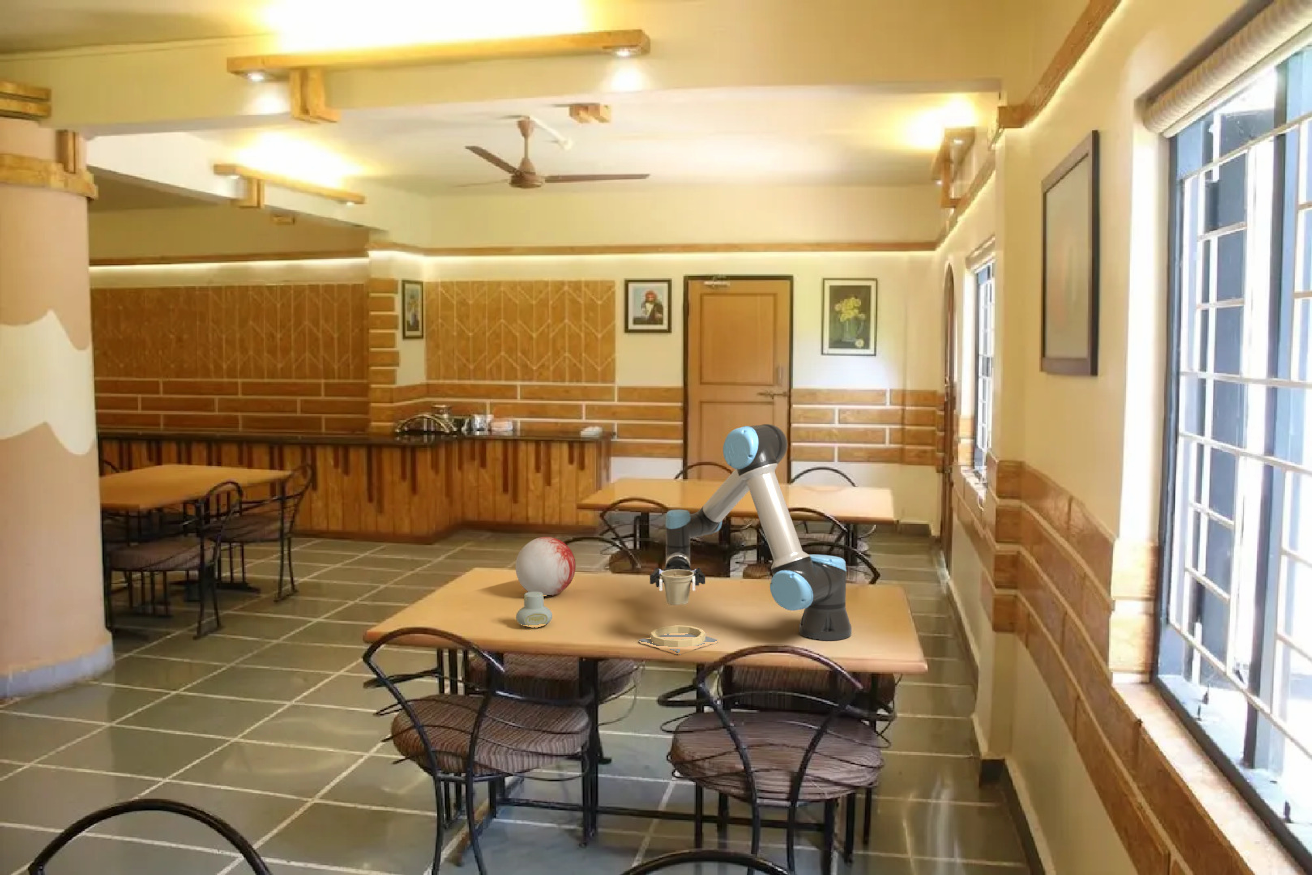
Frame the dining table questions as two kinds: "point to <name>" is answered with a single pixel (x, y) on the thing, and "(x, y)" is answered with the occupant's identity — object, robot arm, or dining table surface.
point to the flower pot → (677, 586)
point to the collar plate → (692, 632)
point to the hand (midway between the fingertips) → (677, 585)
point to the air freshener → (534, 610)
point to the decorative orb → (545, 566)
